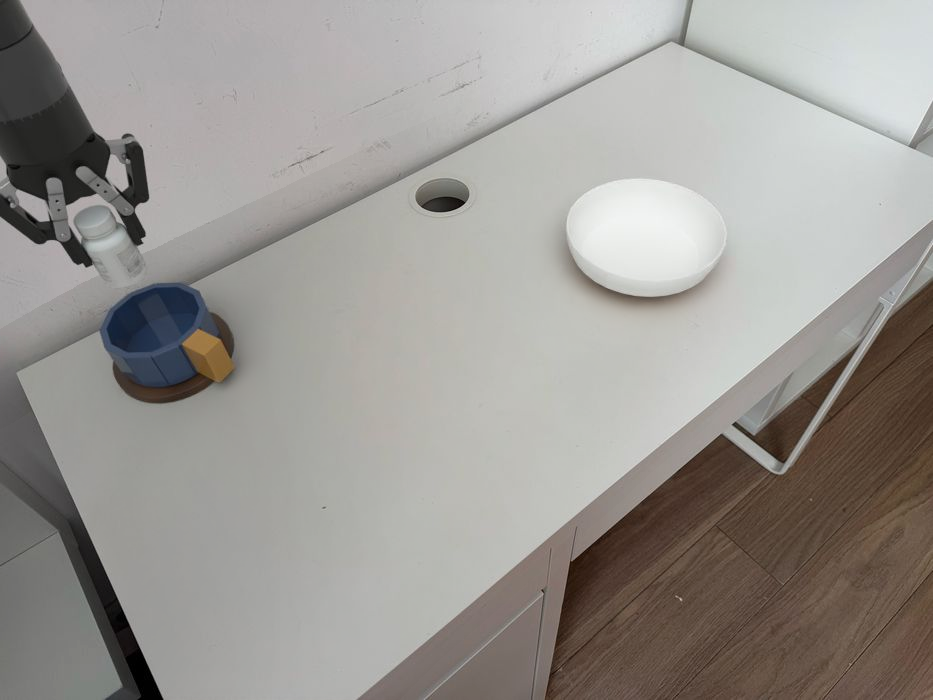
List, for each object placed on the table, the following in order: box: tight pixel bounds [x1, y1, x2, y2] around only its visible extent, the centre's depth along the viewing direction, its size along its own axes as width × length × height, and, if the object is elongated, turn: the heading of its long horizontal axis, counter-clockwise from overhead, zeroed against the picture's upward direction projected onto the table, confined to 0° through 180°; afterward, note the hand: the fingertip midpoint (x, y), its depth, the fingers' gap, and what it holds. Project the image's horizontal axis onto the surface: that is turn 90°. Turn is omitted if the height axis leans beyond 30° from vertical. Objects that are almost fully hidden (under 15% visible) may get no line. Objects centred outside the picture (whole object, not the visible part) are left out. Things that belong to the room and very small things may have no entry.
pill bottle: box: [73, 204, 149, 290], centre depth 68 cm, size 4×4×8 cm
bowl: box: [565, 177, 728, 298], centre depth 87 cm, size 20×20×6 cm
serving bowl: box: [99, 281, 235, 387], centre depth 80 cm, size 15×12×5 cm
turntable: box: [112, 311, 235, 404], centre depth 83 cm, size 14×14×1 cm
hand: (112, 250), depth 68 cm, fingers closed on pill bottle, 4 cm apart
